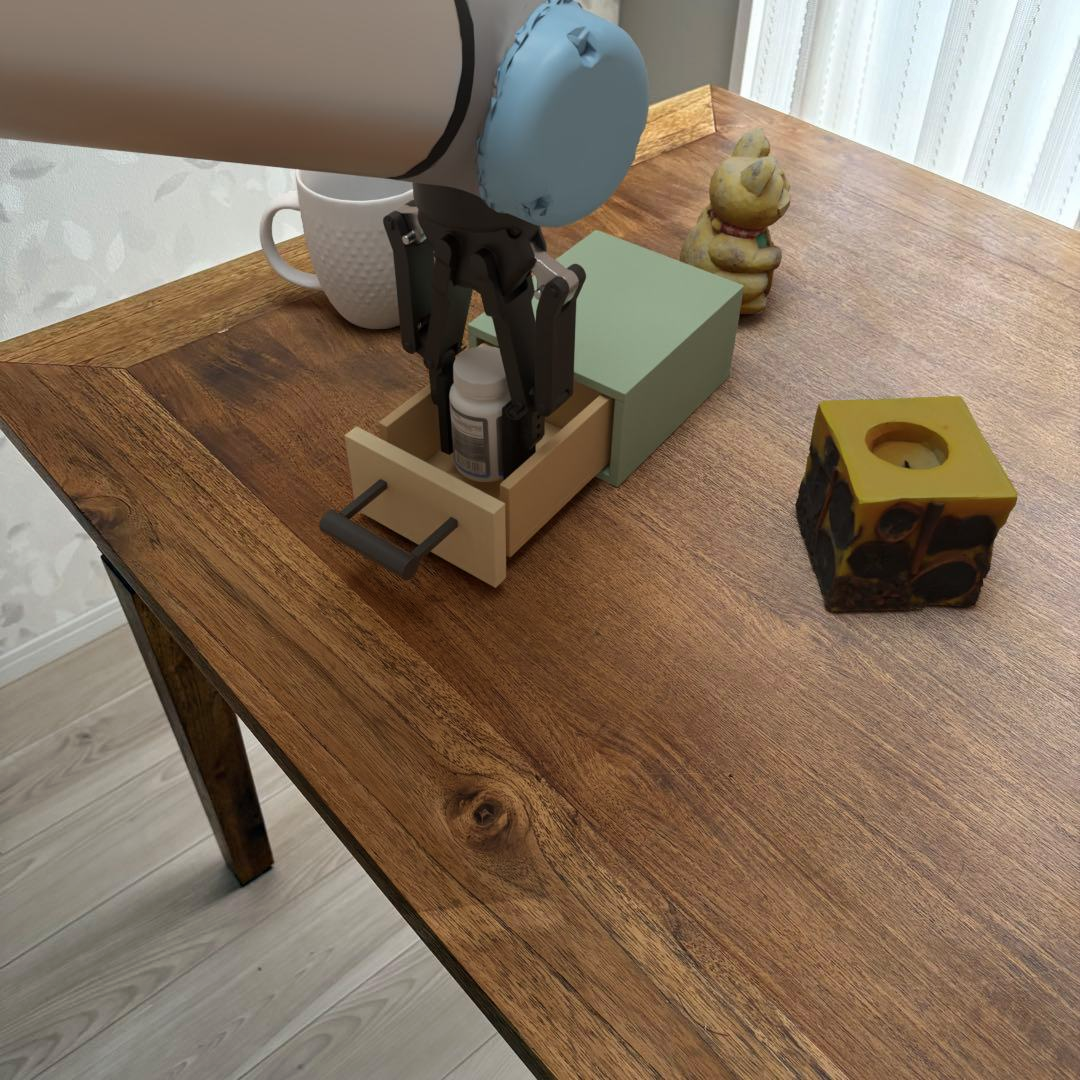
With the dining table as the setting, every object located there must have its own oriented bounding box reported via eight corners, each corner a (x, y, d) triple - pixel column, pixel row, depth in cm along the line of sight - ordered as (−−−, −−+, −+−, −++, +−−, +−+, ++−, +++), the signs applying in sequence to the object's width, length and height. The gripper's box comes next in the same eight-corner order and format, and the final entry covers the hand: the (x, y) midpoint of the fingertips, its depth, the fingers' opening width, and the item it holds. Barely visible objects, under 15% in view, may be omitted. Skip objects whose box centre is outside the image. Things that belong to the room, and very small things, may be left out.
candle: (977, 610, 73) (1026, 499, 66) (826, 617, 72) (859, 506, 65) (928, 503, 80) (968, 392, 73) (790, 508, 79) (816, 398, 72)
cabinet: (617, 488, 81) (625, 394, 75) (471, 416, 86) (467, 324, 80) (729, 376, 90) (744, 285, 84) (591, 318, 96) (595, 229, 90)
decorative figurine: (781, 328, 95) (814, 163, 84) (687, 336, 94) (708, 170, 83) (750, 268, 102) (777, 107, 91) (662, 274, 101) (679, 113, 90)
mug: (260, 342, 93) (230, 198, 84) (286, 270, 101) (261, 132, 91) (437, 347, 93) (427, 204, 83) (450, 275, 100) (442, 136, 91)
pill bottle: (511, 434, 79) (510, 336, 73) (529, 477, 76) (530, 378, 70) (446, 446, 78) (440, 348, 72) (462, 490, 75) (457, 391, 69)
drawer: (440, 642, 69) (434, 567, 65) (298, 556, 74) (282, 481, 70) (624, 462, 81) (631, 388, 77) (491, 398, 86) (489, 325, 82)
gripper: (653, 157, 59) (625, 481, 76) (399, 72, 66) (424, 384, 83) (572, 215, 55) (561, 544, 71) (310, 117, 62) (356, 436, 79)
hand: (488, 458), depth 77 cm, fingers closed on pill bottle, 5 cm apart
